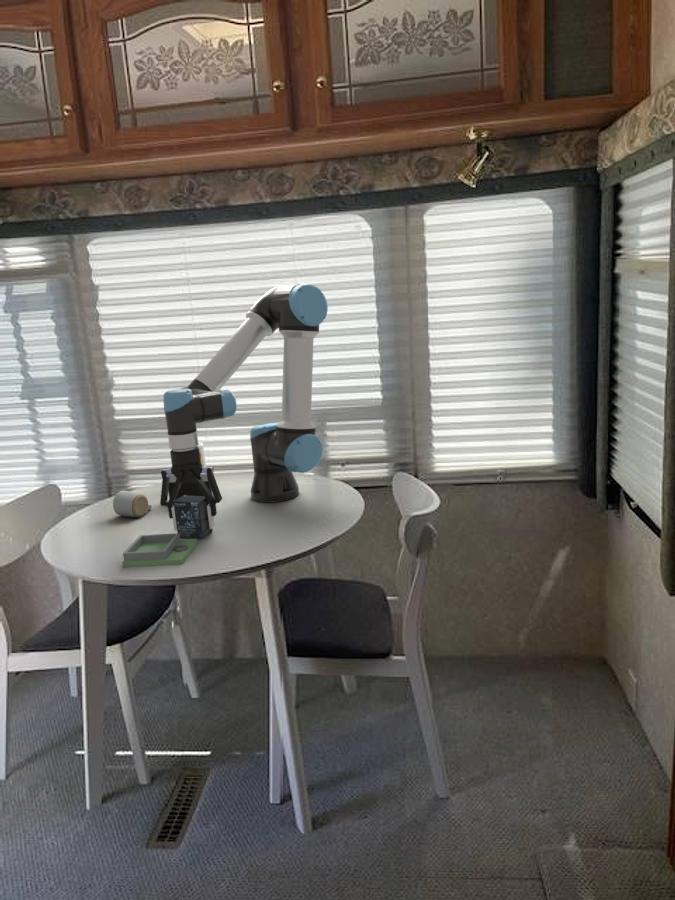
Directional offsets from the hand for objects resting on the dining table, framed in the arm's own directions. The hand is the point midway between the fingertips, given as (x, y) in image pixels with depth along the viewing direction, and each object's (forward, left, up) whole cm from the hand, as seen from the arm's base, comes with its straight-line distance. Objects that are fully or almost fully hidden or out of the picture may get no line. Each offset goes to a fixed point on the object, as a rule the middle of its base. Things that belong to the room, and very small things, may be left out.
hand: (194, 528), depth 188 cm
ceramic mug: (+24, -21, -2) cm, 32 cm away
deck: (+5, +13, -2) cm, 14 cm away
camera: (+9, -33, -2) cm, 34 cm away
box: (0, 0, -2) cm, 2 cm away
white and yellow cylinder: (+12, -50, -2) cm, 51 cm away
